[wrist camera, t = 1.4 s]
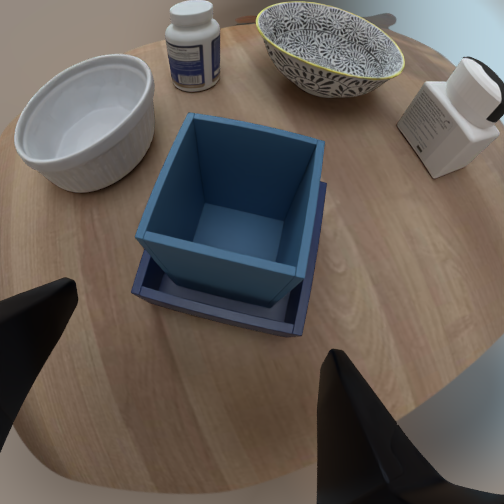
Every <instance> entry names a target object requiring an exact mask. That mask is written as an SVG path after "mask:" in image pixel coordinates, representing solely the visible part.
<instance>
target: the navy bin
mask: <svg viewBox="0 0 504 504" xmlns="http://www.w3.org/2000/svg"><path fill="white" fill-rule="evenodd" d="M326 186H327V183H325V182H321V181H320V186H319V193H318V200H317V207H316V214H315V220H314V227H313V233H312V239H311V245H310V251H309V257H308V263H307V269H306V274H305V278H304V279H303V280H302V281H301V282H300V283H299V284H298V285H297V286H296V287H294V288H293V289H292V290H291V291H290V292H289V293H288V294H286V295H285V296H284V297H283V298H282V299H281V300H280V301H278V302H277V303H276V304H275V305H274V306H273V307H271V308H266V307H261V306H257V305H253V304H249V303H244V302H240V301H236V300H232V299H228V298H224V297H220V296H216V295H212V294H208V293H204V292H200V291H196V290H192V289H188V288H185V287H181V286H177V285H176V284H175V283H174V282H173V281H172V280H171V279H170V278H169V277H168V275H167V274H166V273H165V272H164V271H163V270H162V269H161V267H160V266H159V265H158V264H157V263H156V262H155V261H154V259H153V258H152V257H151V256H150V255H149V254H148V252H147V251H146V250H145V249H144V252H143V255H142V258H141V261H140V264H139V267H138V271H137V274H136V277H135V280H134V284H133V287H132V290H131V293H132V294H134V295H136V296H138V297H140V298H141V299H143V300H145V301H147V302H149V303H151V304H155V305H158V306H162V307H165V308H168V309H172V310H175V311H179V312H183V313H186V314H190V315H194V316H197V317H201V318H205V319H209V320H213V321H217V322H221V323H225V324H229V325H233V326H237V327H241V328H246V329H250V330H254V331H259V332H263V333H268V334H273V335H277V336H282V337H296V336H302V333H303V328H304V323H305V318H306V313H307V308H308V303H309V297H310V292H311V286H312V281H313V275H314V269H315V263H316V257H317V251H318V244H319V238H320V231H321V224H322V217H323V210H324V202H325V194H326Z"/></svg>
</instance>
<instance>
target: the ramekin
mask: <svg viewBox="0 0 504 504" xmlns="http://www.w3.org/2000/svg"><path fill="white" fill-rule="evenodd" d="M153 96H154V80H153V76H152V73H151V70H150V68H149V66H148V65H147V64H146V63H145V62H144V61H143V60H141V59H139V58H137V57H135V56H131V55H126V54H110V55H103V56H98V57H94V58H91V59H88V60H85V61H82V62H80V63H78V64H76V65H73V66H71V67H70V68H68V69H66V70H64V71H63V72H61V73H59V74H58V75H57V76H55V77H54V78H52V79H51V80H50V81H49V82H48V83H46V84H45V85H44V86H43V87H42V88H41V89H40V90H39V91H38V92H37V93H36V94H35V95H34V96H33V98H32V99H31V100H30V101H29V103H28V104H27V106H26V107H25V109H24V110H23V112H22V114H21V116H20V118H19V120H18V122H17V125H16V129H15V134H14V143H15V148H16V150H17V153H18V154H19V156H20V157H21V158H22V160H23V161H24V162H25V163H26V164H27V165H28V166H29V167H31V168H32V169H34V170H37V171H38V172H40V173H41V174H42V175H43V176H44V177H46V178H47V179H48V180H49V181H51V182H52V183H54V184H55V185H57V186H58V187H60V188H62V189H65V190H67V191H72V192H81V193H83V192H91V191H96V190H99V189H101V188H104V187H107V186H109V185H111V184H113V183H115V182H117V181H118V180H120V179H121V178H123V177H124V176H125V175H127V174H128V173H129V172H130V171H131V170H132V169H133V168H134V167H135V166H136V165H137V164H138V163H139V162H140V161H141V160H142V158H143V157H144V155H145V154H146V152H147V150H148V148H149V147H150V143H151V141H152V139H153V134H154V127H155V116H154V105H153Z"/></svg>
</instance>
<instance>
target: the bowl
mask: <svg viewBox="0 0 504 504" xmlns="http://www.w3.org/2000/svg"><path fill="white" fill-rule="evenodd" d="M256 26H257V29H258V31H259V33H260V34H261V36H262V38H263V40H264V43H265V45H266V49H267V51H268V54H269V56H270V58H271V60H272V61H273V63H274V64H275V66H276V67H277V68H278V70H279V71H280V72H281V73H282V74H283V75H284V76H286V77H287V78H288V79H289V80H291V81H292V82H294V83H295V84H296V85H297V86H298V87H299V88H301V89H302V90H304V91H306V92H308V93H310V94H312V95H315V96H319V97H325V98H334V97H346V98H347V97H355V96H360V95H364V94H366V93H369V92H371V91H373V90H375V89H376V88H378V87H379V86H381V85H382V84H383V83H385V82H386V81H388V80H390V79H391V78H394V77H396V76H398V75H399V74H400V73H401V72H402V71H403V69H404V66H405V60H404V56H403V54H402V52H401V50H400V48H399V47H398V45H397V44H396V43H395V42H394V41H393V40H392V39H391V38H390V37H389V36H388V35H387V34H386V33H385V32H383V31H382V30H381V29H379V28H378V27H377V26H375V25H374V24H372V23H370V22H369V21H367V20H365V19H363V18H361V17H359V16H357V15H355V14H353V13H350V12H347V11H345V10H342V9H339V8H336V7H332V6H328V5H324V4H319V3H312V2H284V3H278V4H274V5H271V6H269V7H267V8H265V9H263V10H262V11H261V12H260V13H259V14H258V16H257V18H256Z"/></svg>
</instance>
